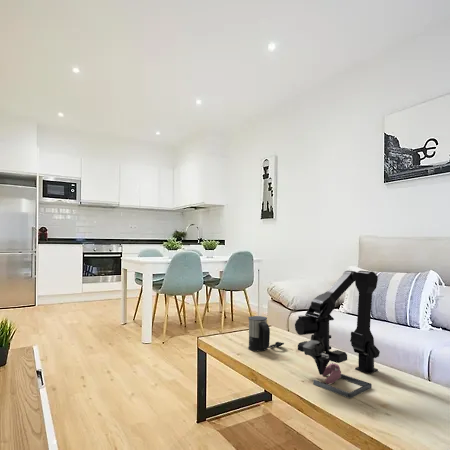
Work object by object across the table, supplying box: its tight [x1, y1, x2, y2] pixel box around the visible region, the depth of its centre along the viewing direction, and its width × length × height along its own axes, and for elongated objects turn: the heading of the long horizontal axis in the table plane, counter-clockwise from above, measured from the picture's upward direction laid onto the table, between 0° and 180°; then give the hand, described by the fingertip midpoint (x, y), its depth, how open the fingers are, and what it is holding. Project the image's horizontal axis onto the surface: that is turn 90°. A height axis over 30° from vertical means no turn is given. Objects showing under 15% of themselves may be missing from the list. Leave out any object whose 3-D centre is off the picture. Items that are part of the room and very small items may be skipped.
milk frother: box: [247, 315, 285, 352], centre depth 168 cm, size 14×16×15 cm
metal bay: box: [312, 373, 373, 399], centre depth 124 cm, size 14×15×2 cm
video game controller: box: [322, 362, 342, 385], centre depth 130 cm, size 10×5×7 cm, turn 173°
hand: (321, 374), depth 131 cm, fingers closed
